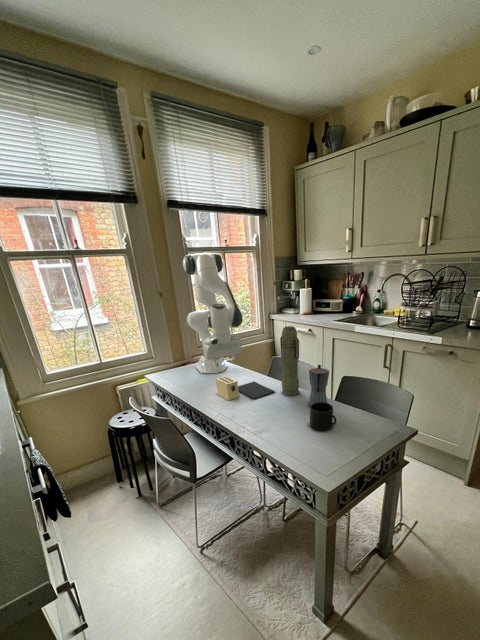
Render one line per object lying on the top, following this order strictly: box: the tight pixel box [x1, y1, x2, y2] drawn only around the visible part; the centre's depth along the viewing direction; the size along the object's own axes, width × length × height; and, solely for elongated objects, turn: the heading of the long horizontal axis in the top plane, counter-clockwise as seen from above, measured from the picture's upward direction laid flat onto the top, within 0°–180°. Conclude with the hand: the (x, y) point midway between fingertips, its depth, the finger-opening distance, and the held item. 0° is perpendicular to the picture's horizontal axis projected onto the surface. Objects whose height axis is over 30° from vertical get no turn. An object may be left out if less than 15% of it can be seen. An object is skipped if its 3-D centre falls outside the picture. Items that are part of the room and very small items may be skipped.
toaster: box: [215, 375, 240, 401], centre depth 168 cm, size 13×6×9 cm, turn 37°
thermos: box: [279, 325, 300, 397], centre depth 162 cm, size 9×12×35 cm
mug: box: [309, 402, 338, 432], centre depth 132 cm, size 9×12×9 cm
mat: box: [238, 381, 276, 401], centre depth 174 cm, size 20×14×1 cm
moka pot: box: [308, 364, 330, 406], centre depth 150 cm, size 10×15×20 cm, turn 174°
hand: (224, 364), depth 163 cm, fingers open, 8 cm apart
